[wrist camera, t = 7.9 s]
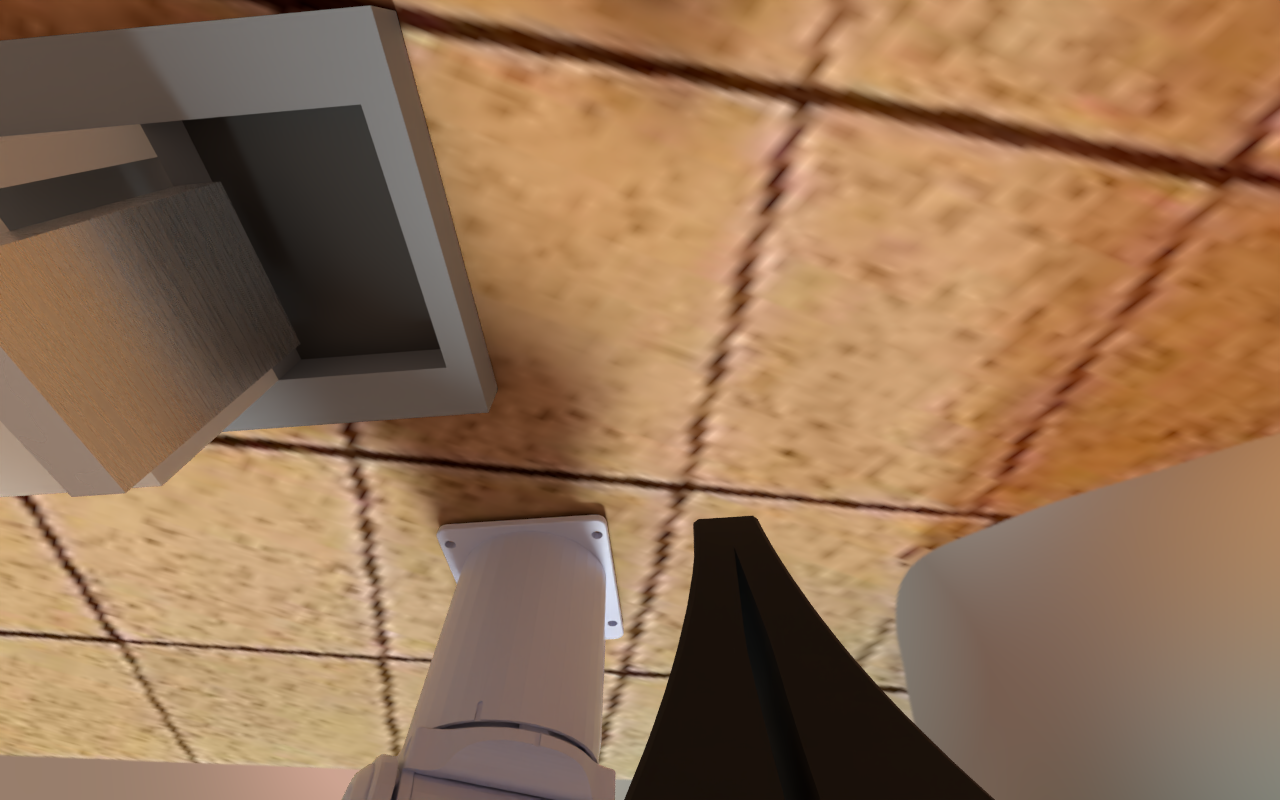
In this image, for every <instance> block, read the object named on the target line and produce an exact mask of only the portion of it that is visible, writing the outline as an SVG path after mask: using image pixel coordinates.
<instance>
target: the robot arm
mask: <svg viewBox="0 0 1280 800" xmlns="http://www.w3.org/2000/svg"><path fill="white" fill-rule="evenodd" d="M693 529H694V565H693V574H692V581H691V587H690V593H689V599H688V605H687V610H686V614H685V619H684V623H683V627H682V632H681V636H680V640H679V644H678V648H677V652H676V656H675V659H674V663H673V666H672V670H671V673H670V677H669V680H668V683H667V686H666V690H665V693H664V696H663V699H662V702H661V705H660V708H659V711H658V714H657V716H656V719H655V722H654V725H653V728H652V731H651V734H650V736H649V739H648V742H647V744H646V747H645V750H644V752H643V755H642V757H641V760H640V762H639V765H638V767H637V770H636V772H635V774H634V777H633V779H632V782H631V784H630V787H629V790H628V792H627V794H626V797H625V799H624V800H995V799H993V798H992V797H991V796H990V795H989V794H988V793H987V792H986V791H985V790H983V789H982V788H981V787H980V786H979V785H978V784H977V783H976V782H975V781H973V780H972V779H971V778H970V777H969V776H968V775H967V774H966V773H965V772H964V771H963V770H962V769H960V768H959V767H958V766H957V765H956V764H955V763H954V762H953V761H952V760H951V759H950V758H949V757H948V756H947V755H946V754H945V753H943V752H942V750H940V749H939V747H937V746H936V745H935V744H934V743H933V742H932V741H931V740H930V739H929V738H928V737H927V736H926V735H925V734H924V733H923V732H922V731H921V730H920V729H919V728H918V727H917V726H916V725H915V724H914V723H913V722H912V721H911V720H910V719H909V718H908V717H907V716H906V715H905V714H904V713H903V712H902V711H901V710H900V709H899V708H898V707H897V706H896V705H895V704H894V703H893V701H892V700H891V699H890V698H889V697H888V696H887V695H886V694H885V693H884V692H883V691H882V690H881V689H880V688H879V686H878V685H877V684H876V683H875V682H874V681H873V680H872V679H871V678H870V676H869V675H868V674H867V673H866V672H865V671H864V670H863V669H862V667H861V666H860V665H859V664H858V663H857V662H856V661H855V659H854V658H853V657H852V656H851V655H850V653H849V652H848V651H847V650H846V649H845V647H844V646H843V645H842V644H841V643H840V641H839V640H838V639H837V638H836V636H835V635H834V634H833V632H832V631H831V630H830V629H829V627H828V626H827V625H826V624H825V622H824V621H823V620H822V618H821V617H820V616H819V614H818V613H817V612H816V610H815V609H814V608H813V606H812V605H811V604H810V602H809V601H808V599H807V598H806V597H805V595H804V594H803V592H802V591H801V589H800V588H799V587H798V585H797V584H796V582H795V581H794V580H793V578H792V577H791V575H790V574H789V572H788V571H787V569H786V567H785V566H784V564H783V563H782V561H781V560H780V558H779V556H778V555H777V553H776V552H775V550H774V548H773V547H772V545H771V543H770V542H769V540H768V538H767V536H766V534H765V533H764V531H763V529H762V527H761V525H760V523H759V521H758V519H757V518H755V517H754V516H742V517H726V518H711V519H698V520H697V521H696V522H694V523H693ZM595 531H599V533H597V532H595ZM437 539H438V541H439V543H440V546H441V548H442V550H443V553H444V555H445V557H446V560H447V562H448V564H449V567H450V569H451V572H452V574H453V576H454V579H455V581H456V583H457V586H456V589H455V592H454V595H453V598H452V601H451V604H450V607H449V610H448V613H447V616H446V619H445V622H444V625H443V628H442V631H441V634H440V637H439V640H438V643H437V646H436V649H435V652H434V655H433V658H432V661H431V664H430V667H429V670H428V673H427V676H426V679H425V682H424V685H423V688H422V691H421V694H420V697H419V700H418V703H417V706H416V710H415V713H414V716H413V719H412V722H411V725H410V728H409V731H408V734H407V737H406V740H405V743H404V746H403V748H402V750H401V751H400V753H399V754H398V756H397V757H396V756H391V755H386V754H383V755H380V756H378V757H377V758H376V759H375V760H374V761H373V763H372V764H369V765H367V766H366V767H365V768H363V769H362V770H360V771H359V772H357V773H356V774H355V775H354V777H353V778H352V780H351V782H350V784H349V786H348V788H347V790H346V792H345V794H344V796H343V798H342V800H615V771H614V770H613V769H610V768H606V767H604V766H601V765H599V753H600V747H601V732H602V708H603V684H604V660H605V639H617V638H620V637H622V635H623V629H624V628H623V621H622V615H621V609H620V602H619V596H618V590H617V583H616V577H615V571H614V564H613V558H612V552H611V546H610V539H609V533H608V527H607V521H606V519H605V518H604V517H603V516H601V515H581V516H566V517H551V518H536V519H521V520H506V521H491V522H476V523H461V524H446V525H442V526H441V527H440V528H439V530H438V532H437ZM451 541H452V542H451Z"/></svg>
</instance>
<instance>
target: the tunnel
mask: <svg viewBox="0 0 1280 800" xmlns="http://www.w3.org/2000/svg"><path fill="white" fill-rule="evenodd" d="M155 157H157V155H156V153H155V151H154V149H153V147H152V146H151V144H150V142H149V140H148V138H147V136H146V134H145V133H144V131H143V129H142V127H141V125H140V124H136V125H124V126H113V127H102V128H91V129H80V130H69V131H58V132H46V133H35V134H24V135H13V136H2V137H0V188H5V187H10V186H15V185H20V184H25V183H30V182H35V181H40V180H45V179H50V178H55V177H60V176H65V175H70V174H75V173H80V172H85V171H90V170H95V169H100V168H105V167H110V166H115V165H120V164H125V163H130V162H135V161H140V160H145V159H150V158H155ZM5 232H9V229H8V228H7V227H6V225H5V224H4V222H3V221H2V220H1V218H0V234H1V233H5ZM277 381H278V378H277V376H276V375H275V373H274V371H273V369H270V370H269V371H268V372H267V373H266V374H264V375H263V376H262V377H261V378H260V379H259V380H257V381H256V382H255V383H254V384H253V385H252V386H250V387H249V388H248V389H247V390H246V391H245V392H243V393H242V394H241V395H240V396H239V397H238V398H236V399H235V400H234V401H233V402H232V403H231V404H229V405H228V406H227V407H226V408H225V409H224V410H222V411H221V412H220V413H219V414H218V415H216V416H215V417H214V418H213V419H212V420H211V421H209V422H208V423H207V424H206V425H205V426H204V427H202V428H201V429H200V430H199V431H198V432H197V433H195V434H194V435H193V436H192V437H191V438H190V439H188V440H187V441H186V442H185V443H184V444H183V445H181V446H180V447H179V448H178V449H177V450H176V451H174V452H173V453H172V454H171V455H170V456H169V457H167V458H166V459H165V460H164V461H163V462H161V463H160V464H159V465H158V466H157V467H156V468H154V469H153V470H152V471H151V472H150V473H149V474H147V475H146V476H145V477H144V478H143V479H142V480H140V481H139V482H138V483H137V484H136V485H135V486H133V487H132V488H139V487H154V486H162V485H163V484H164V483H166V482H167V481H168V480H169V479H170V478H171V477H172V476H173V475H174V474H176V473H177V472H178V471H179V470H180V469H181V468H182V467H183V466H184V465H185V464H187V463H188V462H189V461H190V460H191V459H192V458H193V457H194V456H195V455H197V454H198V453H199V452H200V451H201V450H202V449H203V448H204V447H205V446H206V445H208V444H209V443H210V442H211V441H212V440H213V439H214V438H215V437H216V436H218V435H219V434H220V433H221V432H222V431H223V430H224V429H225V428H226V427H227V426H229V425H230V424H231V423H232V422H233V421H234V420H235V419H236V418H237V417H239V416H240V415H241V414H242V413H243V412H244V411H245V410H246V409H247V408H248V407H250V406H251V405H252V404H253V403H254V402H255V401H256V400H257V399H258V398H260V397H261V396H262V395H263V394H264V393H265V392H266V391H267V390H268V389H269V388H271V387H272V386H273V385H274V384H275V383H276V382H277ZM53 493H67V491H66V490H65V489H64V488H63V487H62V486H61V485H60V484H59V483H58V482H57V481H56V480H55V479H54V478H53V477H52V475H51V474H50V473H49V472H48V471H47V470H46V469H45V468H44V467H43V466H42V465H41V464H40V463H39V462H38V461H37V460H36V458H35V457H34V456H33V455H32V454H31V453H30V452H29V451H28V450H27V449H26V448H25V447H24V446H23V445H22V444H21V442H20V441H19V440H18V439H17V438H16V437H15V436H14V435H13V434H12V433H11V432H10V431H9V430H8V429H7V428H6V426H5V425H4V424H3V423H2V422H1V421H0V497H10V496H24V495H39V494H53Z"/></svg>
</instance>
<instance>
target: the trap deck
mask: <svg viewBox="0 0 1280 800" xmlns="http://www.w3.org/2000/svg"><path fill="white" fill-rule="evenodd" d="M136 124H140V125H141V127H142V129H143V131H144V133H145V134H146V136H147V138H148V140H149V142H150V144H151V146H152V147H153V149H154V151H155V153H156V155H157V157H155V158H150V159H145V160H140V161H135V162H130V163H125V164H120V165H115V166H110V167H105V168H100V169H95V170H90V171H85V172H80V173H75V174H70V175H65V176H60V177H55V178H50V179H45V180H40V181H35V182H30V183H25V184H20V185H15V186H10V187H5V188H0V218H1V220H2V221H3V222H4V224H5V225H6V227H7V228H8V229H9V231H12V230H16V229H20V228H23V227H27V226H31V225H34V224H38V223H42V222H46V221H49V220H53V219H57V218H60V217H64V216H68V215H71V214H75V213H79V212H82V211H86V210H90V209H93V208H97V207H101V206H104V205H108V204H112V203H115V202H119V201H123V200H126V199H130V198H134V197H137V196H141V195H145V194H148V193H152V192H156V191H159V190H163V189H167V188H170V187H174V186H178V185H188V184H200V183H212V182H221V184H222V186H223V188H224V190H225V192H226V194H227V196H228V198H229V200H230V202H231V204H232V206H233V208H234V210H235V212H236V214H237V216H238V218H239V220H240V222H241V224H242V226H243V228H244V230H245V232H246V234H247V236H248V238H249V240H250V242H251V245H252V247H253V249H254V251H255V253H256V255H257V257H258V259H259V261H260V263H261V265H262V267H263V269H264V271H265V273H266V275H267V277H268V279H269V281H270V283H271V285H272V287H273V289H274V291H275V293H276V295H277V297H278V299H279V301H280V303H281V305H282V308H283V310H284V312H285V314H286V316H287V318H288V320H289V322H290V324H291V326H292V328H293V330H294V332H295V334H296V336H297V338H298V340H299V342H300V345H298V346H297V347H296V348H295V349H294V350H293V351H291V352H290V353H289V354H288V355H287V356H286V357H284V358H283V359H282V360H281V361H280V362H279V363H277V364H276V365H275V366H274V367H273V368H272V369H273V371H274V373H275V375H276V376H277V378H278V381H277V382H276V383H275V384H274V385H273V386H272V387H271V388H269V389H268V390H267V391H266V392H265V393H264V394H263V395H262V396H261V397H260V398H258V399H257V400H256V401H255V402H254V403H253V404H252V405H251V406H250V407H248V408H247V409H246V410H245V411H244V412H243V413H242V414H241V415H240V416H239V417H237V418H236V419H235V420H234V421H233V422H232V423H231V424H230V425H229V426H227V427H226V428H225V429H224V430H223V431H222V432H226V431H240V430H254V429H268V428H282V427H295V426H309V425H323V424H337V423H351V422H364V421H378V420H392V419H406V418H420V417H434V416H447V415H461V414H475V413H489V410H490V408H491V405H492V403H493V400H494V398H495V395H496V393H497V390H498V388H497V384H496V381H495V377H494V373H493V369H492V366H491V362H490V358H489V355H488V351H487V347H486V344H485V340H484V336H483V332H482V329H481V325H480V321H479V318H478V314H477V310H476V306H475V303H474V299H473V295H472V292H471V288H470V284H469V280H468V277H467V273H466V269H465V266H464V262H463V258H462V255H461V251H460V247H459V243H458V240H457V236H456V232H455V229H454V225H453V221H452V217H451V214H450V210H449V206H448V203H447V199H446V195H445V192H444V188H443V184H442V180H441V177H440V173H439V169H438V166H437V162H436V158H435V154H434V151H433V147H432V143H431V140H430V136H429V132H428V128H427V125H426V121H425V117H424V114H423V110H422V106H421V103H420V99H419V95H418V91H417V88H416V84H415V80H414V77H413V73H412V69H411V65H410V62H409V58H408V54H407V51H406V47H405V43H404V40H403V36H402V32H401V28H400V25H399V21H398V17H397V14H396V11H393V10H389V9H384V8H380V7H375V6H371V5H370V6H360V7H349V8H339V9H328V10H318V11H307V12H297V13H286V14H276V15H265V16H255V17H244V18H234V19H223V20H212V21H202V22H191V23H181V24H170V25H160V26H149V27H139V28H128V29H118V30H107V31H97V32H86V33H76V34H65V35H55V36H44V37H34V38H23V39H13V40H2V41H0V137H2V136H13V135H24V134H35V133H46V132H58V131H69V130H80V129H91V128H102V127H113V126H124V125H136Z"/></svg>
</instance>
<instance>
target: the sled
mask: <svg viewBox="0 0 1280 800" xmlns="http://www.w3.org/2000/svg"><path fill="white" fill-rule="evenodd" d="M298 345H300V342H299V340H298V338H297V336H296V334H295V332H294V330H293V328H292V326H291V324H290V322H289V320H288V318H287V316H286V314H285V312H284V310H283V308H282V305H281V303H280V301H279V299H278V297H277V295H276V293H275V291H274V289H273V287H272V285H271V283H270V281H269V279H268V277H267V275H266V273H265V271H264V269H263V267H262V265H261V263H260V261H259V259H258V257H257V255H256V253H255V251H254V249H253V247H252V245H251V242H250V240H249V238H248V236H247V234H246V232H245V230H244V228H243V226H242V224H241V222H240V220H239V218H238V216H237V214H236V212H235V210H234V208H233V206H232V204H231V202H230V200H229V198H228V196H227V194H226V192H225V190H224V188H223V186H222V184H221V182H212V183H200V184H188V185H178V186H174V187H170V188H167V189H163V190H159V191H156V192H152V193H148V194H145V195H141V196H137V197H134V198H130V199H126V200H123V201H119V202H115V203H112V204H108V205H104V206H101V207H97V208H93V209H90V210H86V211H82V212H79V213H75V214H71V215H68V216H64V217H60V218H57V219H53V220H49V221H46V222H42V223H38V224H34V225H31V226H27V227H23V228H20V229H16V230H12V231H9V232H5V233H1V234H0V421H1V422H2V423H3V424H4V425H5V426H6V428H7V429H8V430H9V431H10V432H11V433H12V434H13V435H14V436H15V437H16V438H17V439H18V440H19V441H20V442H21V444H22V445H23V446H24V447H25V448H26V449H27V450H28V451H29V452H30V453H31V454H32V455H33V456H34V457H35V458H36V460H37V461H38V462H39V463H40V464H41V465H42V466H43V467H44V468H45V469H46V470H47V471H48V472H49V473H50V474H51V475H52V477H53V478H54V479H55V480H56V481H57V482H58V483H59V484H60V485H61V486H62V487H63V488H64V489H65V490H66V491H67V493H68V494H69V495H70V496H71V497H77V496H92V495H106V494H121V493H126V492H128V491H129V490H130V489H131V488H132V487H133V486H135V485H136V484H137V483H138V482H139V481H140V480H142V479H143V478H144V477H145V476H146V475H147V474H149V473H150V472H151V471H152V470H153V469H154V468H156V467H157V466H158V465H159V464H160V463H161V462H163V461H164V460H165V459H166V458H167V457H169V456H170V455H171V454H172V453H173V452H174V451H176V450H177V449H178V448H179V447H180V446H181V445H183V444H184V443H185V442H186V441H187V440H188V439H190V438H191V437H192V436H193V435H194V434H195V433H197V432H198V431H199V430H200V429H201V428H202V427H204V426H205V425H206V424H207V423H208V422H209V421H211V420H212V419H213V418H214V417H215V416H216V415H218V414H219V413H220V412H221V411H222V410H224V409H225V408H226V407H227V406H228V405H229V404H231V403H232V402H233V401H234V400H235V399H236V398H238V397H239V396H240V395H241V394H242V393H243V392H245V391H246V390H247V389H248V388H249V387H250V386H252V385H253V384H254V383H255V382H256V381H257V380H259V379H260V378H261V377H262V376H263V375H264V374H266V373H267V372H268V371H269V370H270V369H272V368H273V367H274V366H275V365H276V364H277V363H279V362H280V361H281V360H282V359H283V358H284V357H286V356H287V355H288V354H289V353H290V352H291V351H293V350H294V349H295V348H296V347H297V346H298Z"/></svg>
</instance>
